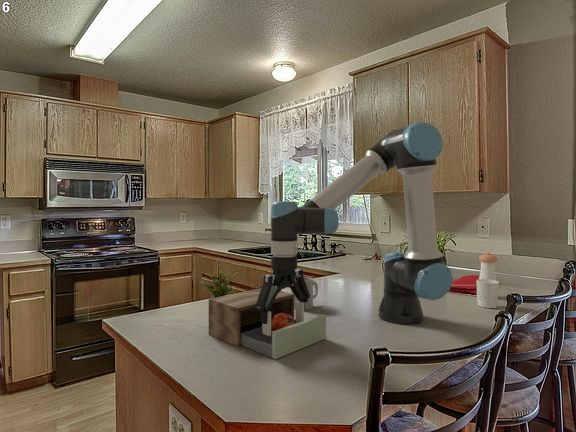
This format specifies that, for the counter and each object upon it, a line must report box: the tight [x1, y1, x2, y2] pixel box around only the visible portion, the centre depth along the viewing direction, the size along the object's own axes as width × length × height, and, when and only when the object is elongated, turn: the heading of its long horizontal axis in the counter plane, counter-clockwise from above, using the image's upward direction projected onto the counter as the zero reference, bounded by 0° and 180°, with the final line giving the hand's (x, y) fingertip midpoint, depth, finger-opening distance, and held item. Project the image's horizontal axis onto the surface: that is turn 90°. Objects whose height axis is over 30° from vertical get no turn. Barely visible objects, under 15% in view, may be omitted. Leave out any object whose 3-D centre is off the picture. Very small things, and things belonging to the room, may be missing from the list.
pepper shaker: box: [478, 252, 498, 281], centre depth 166 cm, size 7×7×19 cm
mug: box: [290, 276, 319, 311], centre depth 148 cm, size 12×8×11 cm
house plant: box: [199, 270, 239, 299], centre depth 137 cm, size 14×14×16 cm
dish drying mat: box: [447, 274, 480, 295], centre depth 187 cm, size 16×41×4 cm, turn 140°
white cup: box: [476, 279, 500, 309], centre depth 151 cm, size 8×8×10 cm
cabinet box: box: [208, 287, 295, 347], centre depth 120 cm, size 14×23×11 cm, turn 136°
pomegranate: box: [271, 313, 295, 332], centre depth 111 cm, size 7×7×10 cm
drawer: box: [240, 314, 327, 360], centre depth 110 cm, size 15×21×7 cm
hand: (283, 328), depth 110 cm, fingers open, 13 cm apart
